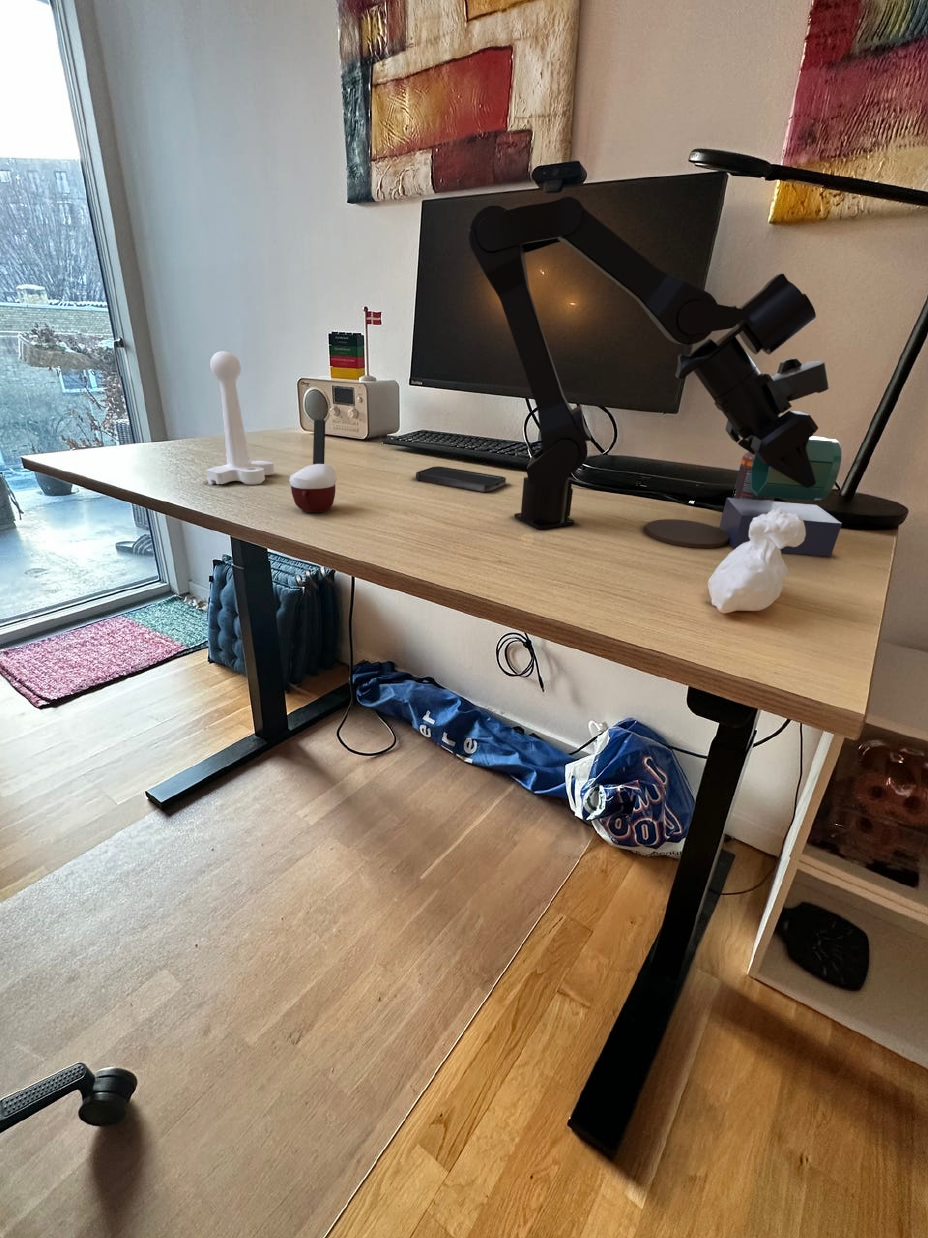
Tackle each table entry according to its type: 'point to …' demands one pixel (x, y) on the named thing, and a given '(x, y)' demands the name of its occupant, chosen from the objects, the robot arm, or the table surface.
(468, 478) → the phone
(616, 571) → the table surface
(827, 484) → the cup
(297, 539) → the table surface
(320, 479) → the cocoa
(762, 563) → the white tied sack
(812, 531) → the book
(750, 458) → the supplement bottle
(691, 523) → the coaster
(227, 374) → the joystick
